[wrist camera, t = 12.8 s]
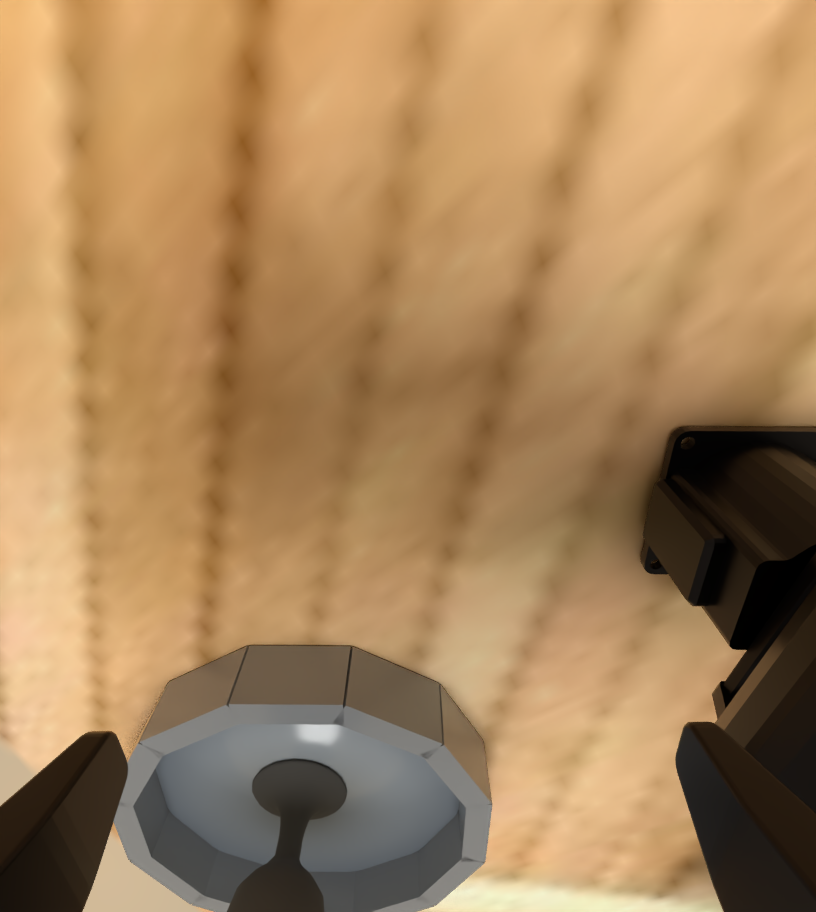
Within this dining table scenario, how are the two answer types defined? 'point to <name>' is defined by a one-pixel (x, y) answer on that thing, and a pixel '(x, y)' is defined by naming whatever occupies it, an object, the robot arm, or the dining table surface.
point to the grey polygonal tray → (319, 740)
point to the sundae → (289, 836)
